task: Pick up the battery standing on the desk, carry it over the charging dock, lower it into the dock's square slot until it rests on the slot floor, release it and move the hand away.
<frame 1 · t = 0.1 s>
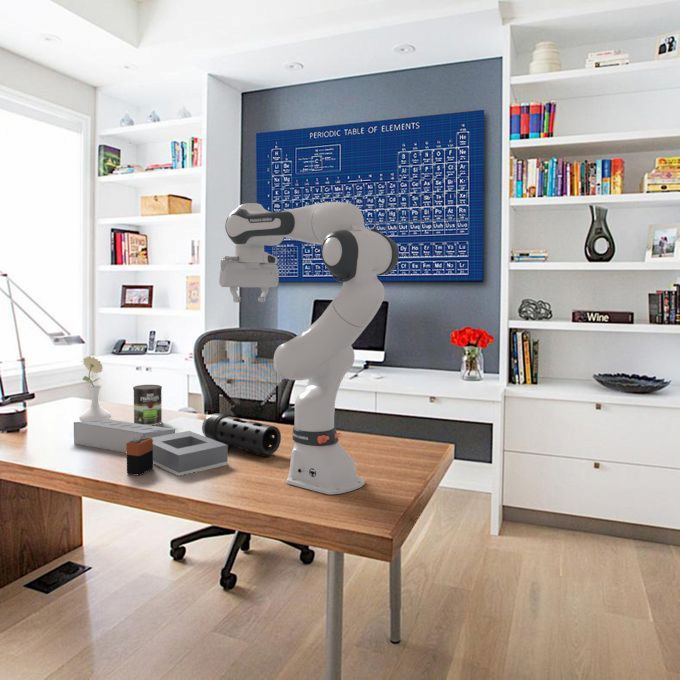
hand: (249, 302, 182), 48 cm above the table, tool pointing down, fingers open, 8 cm apart
coffee can: (148, 423, 223), on the table
white slatted block: (124, 445, 194), on the table
battery: (140, 472, 167), on the table
flower in vase: (94, 421, 225), on the table
dock: (184, 461, 176), on the table
muzzle brake: (239, 450, 190), on the table
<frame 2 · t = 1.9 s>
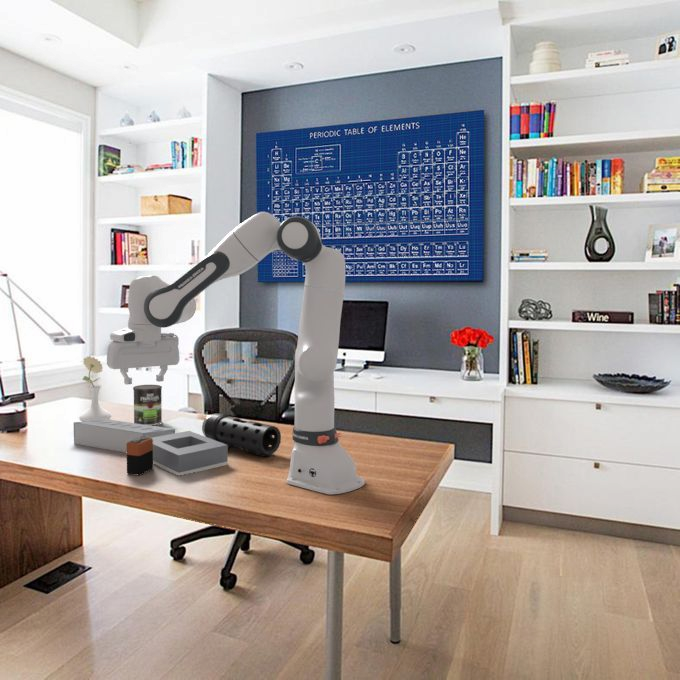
hand: (144, 382, 165), 25 cm above the table, tool pointing down, fingers open, 8 cm apart
nothing on the table moved.
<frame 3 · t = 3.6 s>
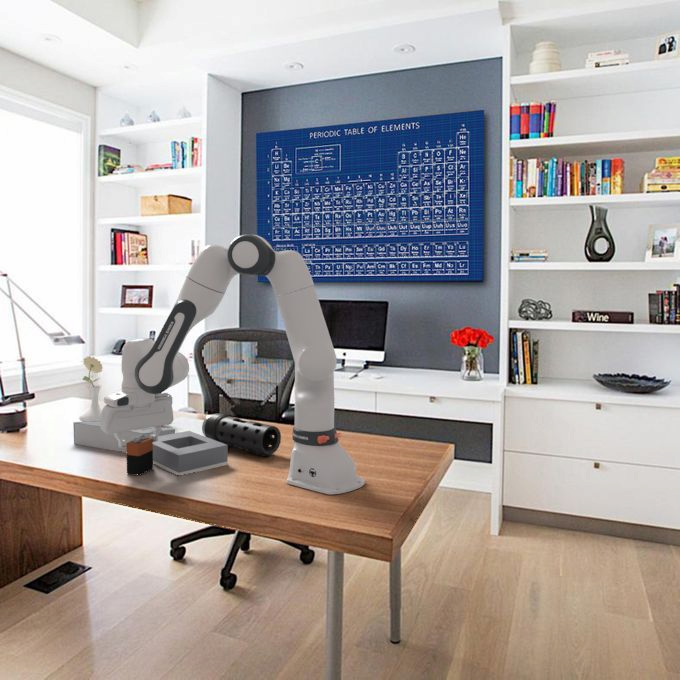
hand: (138, 444, 166), 8 cm above the table, tool pointing down, fingers open, 8 cm apart
battery: (140, 472, 167), on the table, touching gripper
everything else where it was.
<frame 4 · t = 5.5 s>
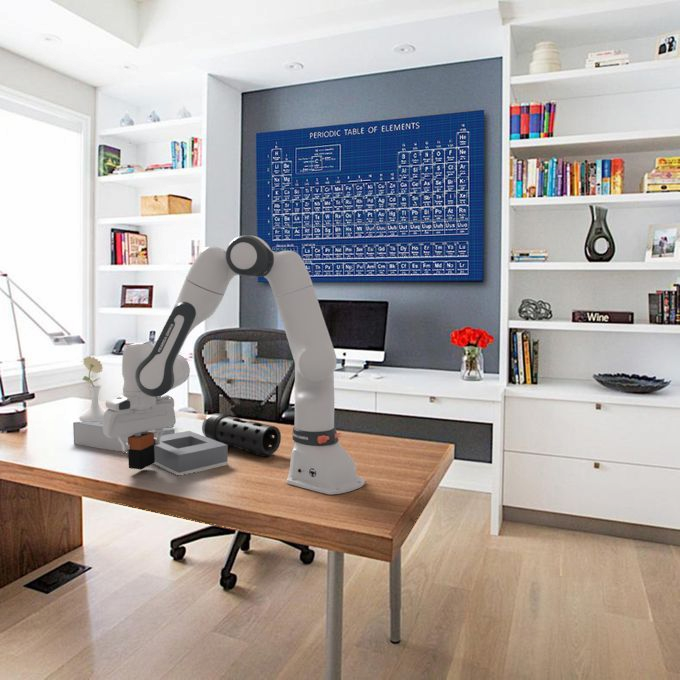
hand: (141, 447, 166), 7 cm above the table, tool pointing down, fingers closed on battery, 8 cm apart
battery: (142, 466, 167), point 1 cm above the table, touching gripper
everything else where it was.
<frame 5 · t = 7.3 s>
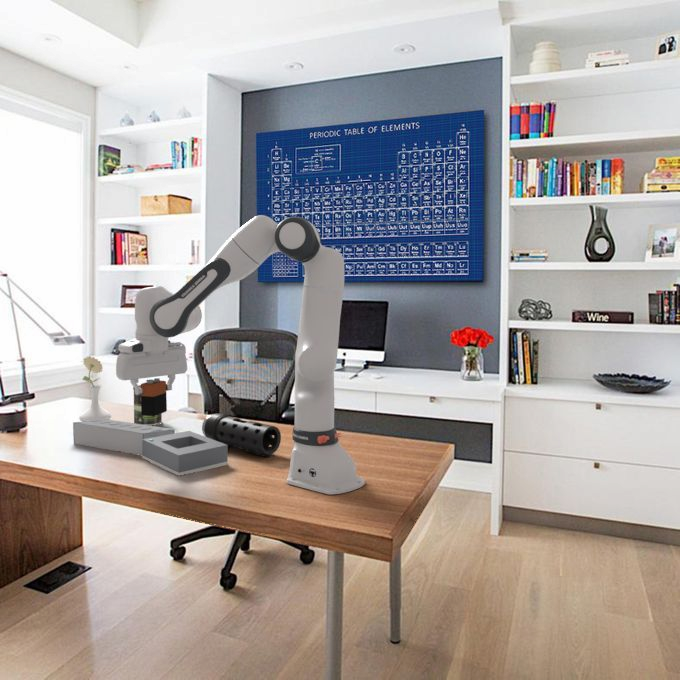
hand: (153, 392, 167), 22 cm above the table, tool pointing down, fingers closed on battery, 8 cm apart
battery: (154, 414, 168), point 16 cm above the table, touching gripper
everything else where it was.
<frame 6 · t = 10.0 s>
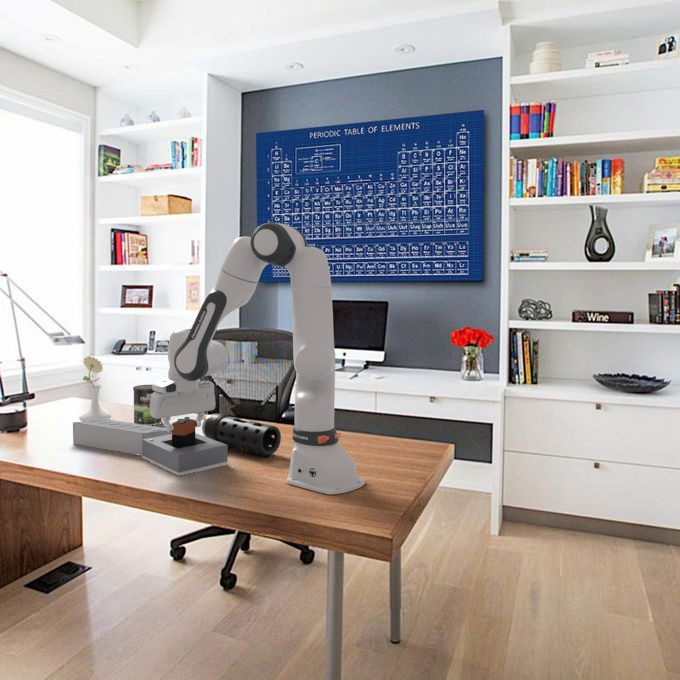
hand: (183, 428, 175), 10 cm above the table, tool pointing down, fingers closed on battery, 8 cm apart
battery: (183, 451, 176), point 3 cm above the table, touching gripper
everything else where it was.
when the fingers open (7 cm above the table, at t = 11.6 s): battery stays where it is, resting on dock.
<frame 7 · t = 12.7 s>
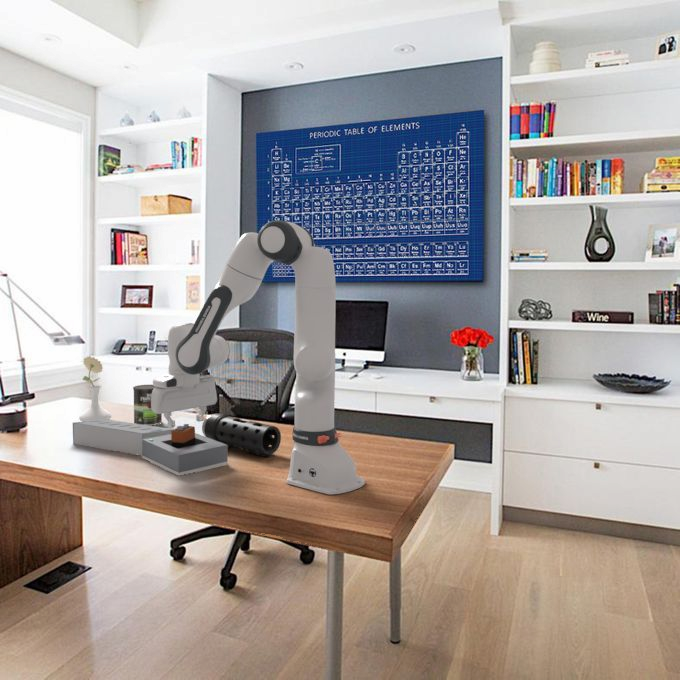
hand: (186, 423, 175), 12 cm above the table, tool pointing down, fingers open, 8 cm apart
battery: (184, 458, 176), point 1 cm above the table, touching dock
everything else where it was.
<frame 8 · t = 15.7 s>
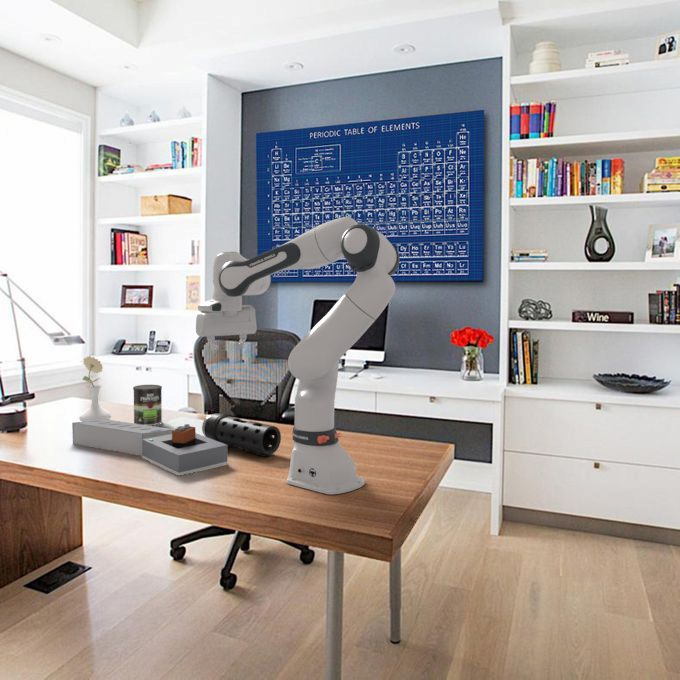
hand: (227, 349, 182), 33 cm above the table, tool pointing down, fingers open, 8 cm apart
nothing on the table moved.
at the end: battery 0.1 cm off-centre on the dock, point 0.8 cm above the dock's base; battery tilted 0°; the gripper is holding nothing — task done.
